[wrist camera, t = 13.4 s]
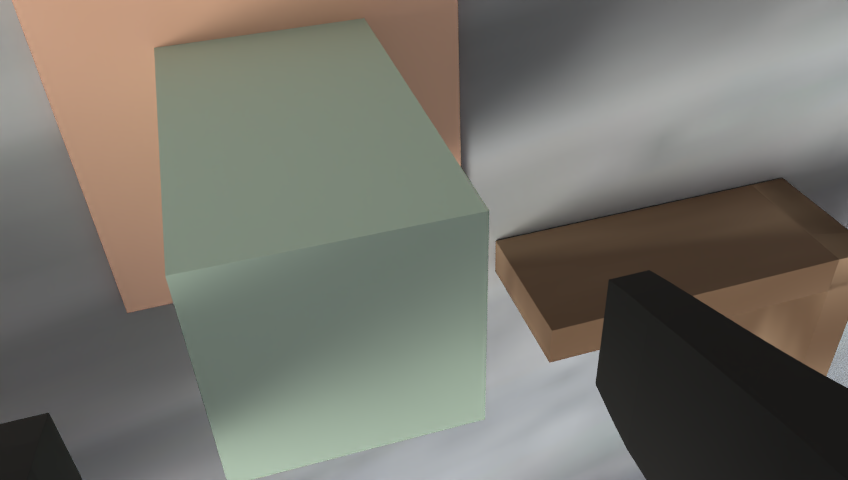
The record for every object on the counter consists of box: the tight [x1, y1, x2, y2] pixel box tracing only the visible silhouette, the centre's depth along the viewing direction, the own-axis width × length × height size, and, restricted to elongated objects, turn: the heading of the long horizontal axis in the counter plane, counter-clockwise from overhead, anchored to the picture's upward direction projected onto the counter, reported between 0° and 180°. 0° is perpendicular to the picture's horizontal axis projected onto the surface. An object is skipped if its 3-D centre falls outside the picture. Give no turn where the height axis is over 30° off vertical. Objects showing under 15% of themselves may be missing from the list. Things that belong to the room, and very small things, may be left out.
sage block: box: [154, 18, 489, 480], centre depth 13 cm, size 4×4×7 cm
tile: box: [12, 0, 461, 313], centre depth 16 cm, size 8×8×1 cm
